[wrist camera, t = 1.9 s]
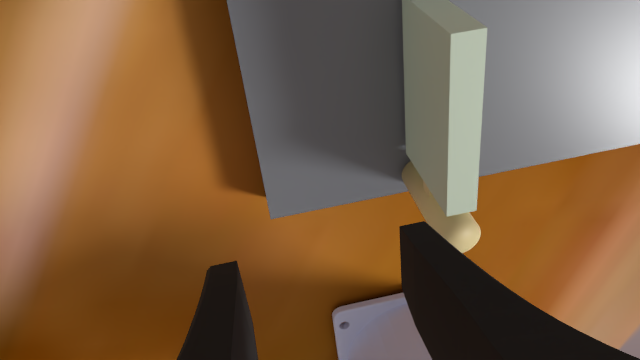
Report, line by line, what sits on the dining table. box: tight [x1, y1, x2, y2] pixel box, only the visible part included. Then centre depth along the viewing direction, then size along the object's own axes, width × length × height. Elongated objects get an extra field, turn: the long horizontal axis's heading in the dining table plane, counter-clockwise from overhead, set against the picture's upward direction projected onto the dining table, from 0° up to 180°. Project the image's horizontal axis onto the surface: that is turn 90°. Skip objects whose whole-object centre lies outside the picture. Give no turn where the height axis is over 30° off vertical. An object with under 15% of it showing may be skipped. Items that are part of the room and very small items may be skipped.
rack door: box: [402, 0, 487, 253], centre depth 18 cm, size 8×1×4 cm, turn 7°
